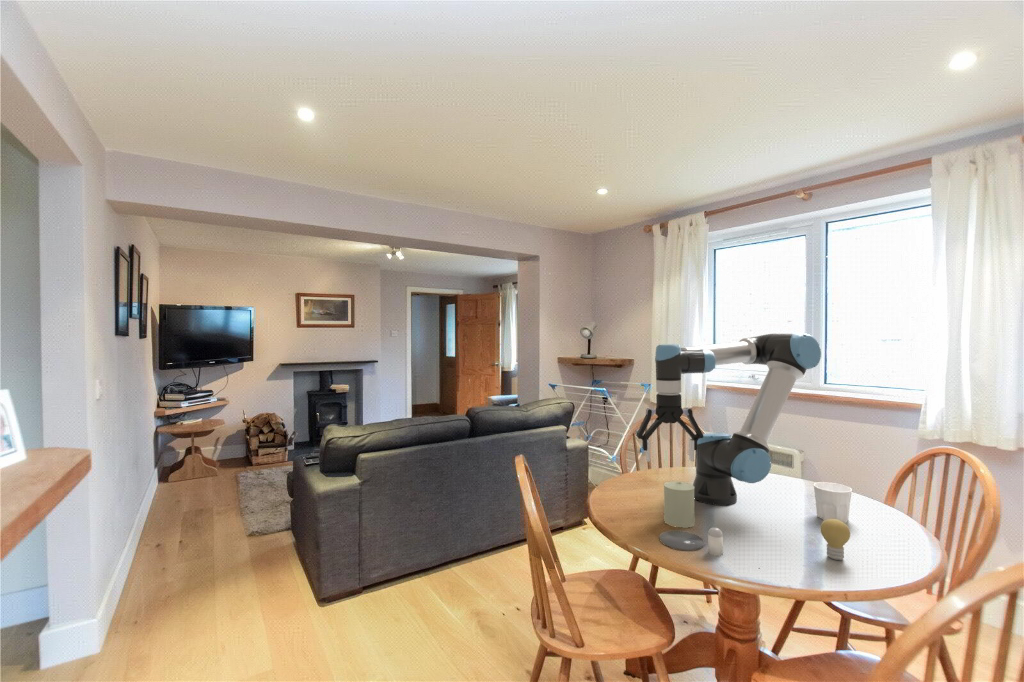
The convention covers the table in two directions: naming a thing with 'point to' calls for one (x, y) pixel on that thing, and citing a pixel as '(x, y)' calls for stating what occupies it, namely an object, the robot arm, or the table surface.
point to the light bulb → (835, 537)
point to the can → (679, 504)
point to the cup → (832, 501)
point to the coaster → (682, 540)
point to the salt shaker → (715, 542)
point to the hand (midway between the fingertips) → (669, 460)
